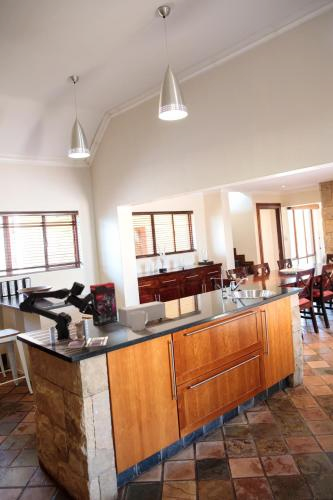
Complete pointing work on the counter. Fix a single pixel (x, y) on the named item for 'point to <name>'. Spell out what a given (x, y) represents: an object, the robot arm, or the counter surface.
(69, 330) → the robot arm
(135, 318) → the mug
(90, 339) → the sheet
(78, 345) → the ink pad
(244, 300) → the counter surface
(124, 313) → the light grey long box
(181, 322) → the counter surface
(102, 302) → the graphics card box
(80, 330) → the stamp
